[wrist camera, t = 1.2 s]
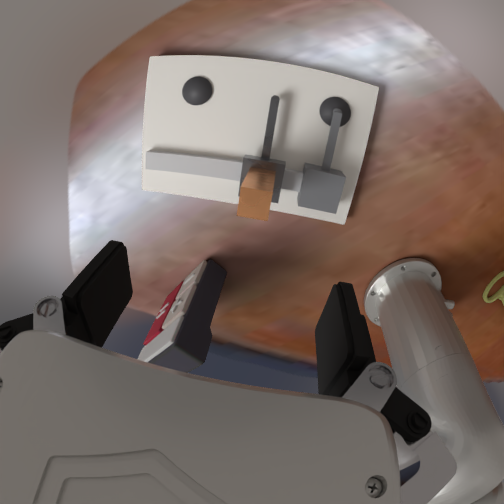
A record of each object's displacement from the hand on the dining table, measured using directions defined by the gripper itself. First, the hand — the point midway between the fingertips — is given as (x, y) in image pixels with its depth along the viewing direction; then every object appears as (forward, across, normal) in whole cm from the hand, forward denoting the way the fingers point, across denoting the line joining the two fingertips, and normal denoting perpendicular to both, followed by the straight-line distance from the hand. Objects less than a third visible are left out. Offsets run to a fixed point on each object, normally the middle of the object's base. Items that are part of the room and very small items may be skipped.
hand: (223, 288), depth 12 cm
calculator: (+21, +6, +18) cm, 29 cm away
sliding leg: (+19, 0, -3) cm, 19 cm away
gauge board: (+21, +2, -4) cm, 21 cm away
